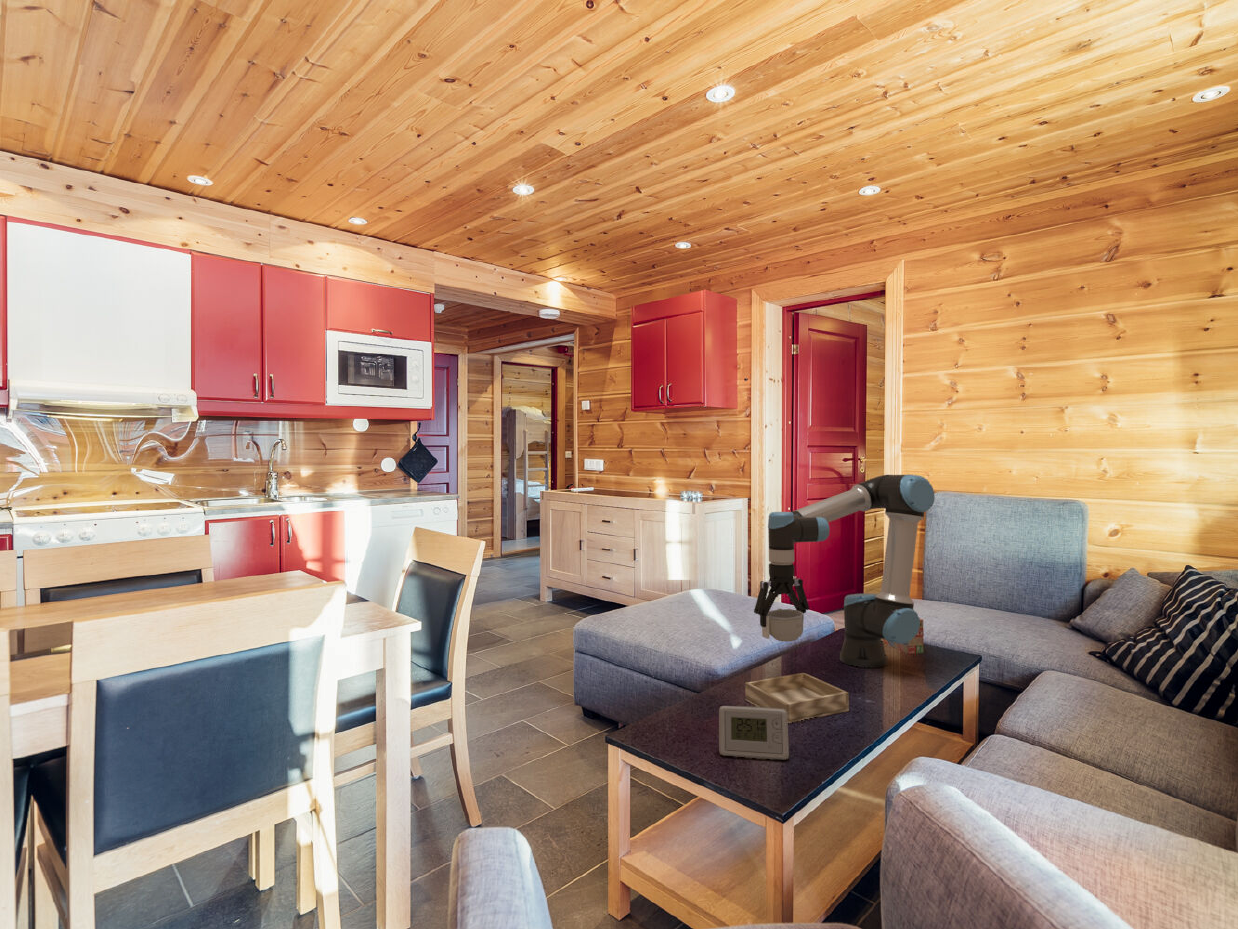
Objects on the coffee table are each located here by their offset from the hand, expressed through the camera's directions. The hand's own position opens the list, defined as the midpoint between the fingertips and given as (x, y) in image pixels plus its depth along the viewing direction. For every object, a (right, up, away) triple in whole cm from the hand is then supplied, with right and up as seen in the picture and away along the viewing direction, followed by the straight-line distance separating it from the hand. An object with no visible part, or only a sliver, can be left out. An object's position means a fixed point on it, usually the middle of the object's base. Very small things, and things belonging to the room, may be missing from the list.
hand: (782, 635), depth 193 cm
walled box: (+1, -16, -12) cm, 21 cm away
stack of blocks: (+55, -16, +44) cm, 72 cm away
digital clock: (-18, -17, -42) cm, 49 cm away
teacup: (+1, -1, 0) cm, 1 cm away
